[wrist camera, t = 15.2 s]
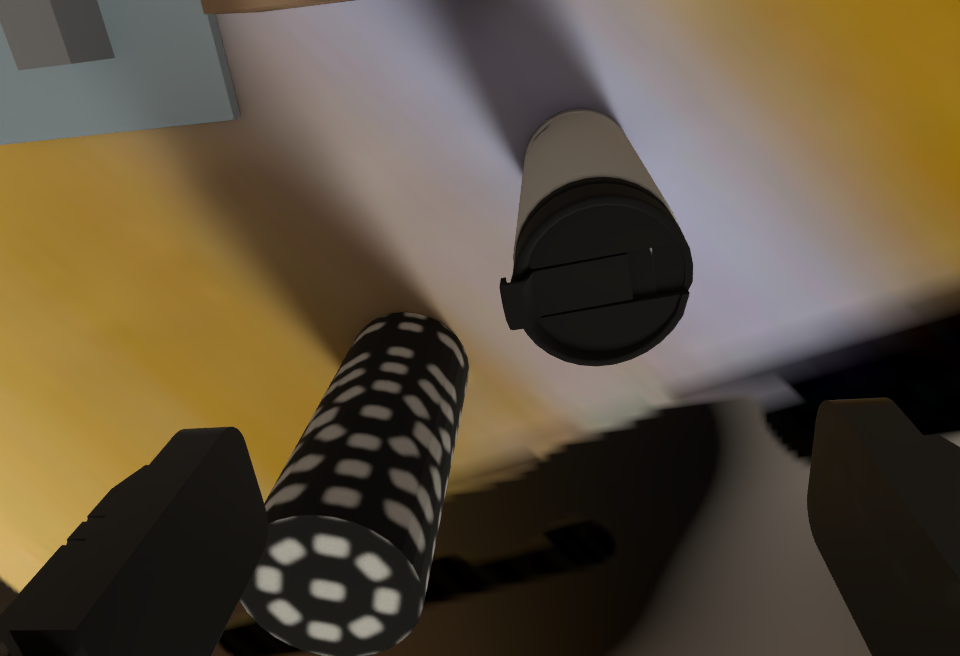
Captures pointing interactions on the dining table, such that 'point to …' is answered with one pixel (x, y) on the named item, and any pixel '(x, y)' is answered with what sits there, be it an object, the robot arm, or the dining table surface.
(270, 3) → the box
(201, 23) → the lid
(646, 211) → the travel mug
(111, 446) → the dining table surface
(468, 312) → the dining table surface
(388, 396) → the spotted tube
